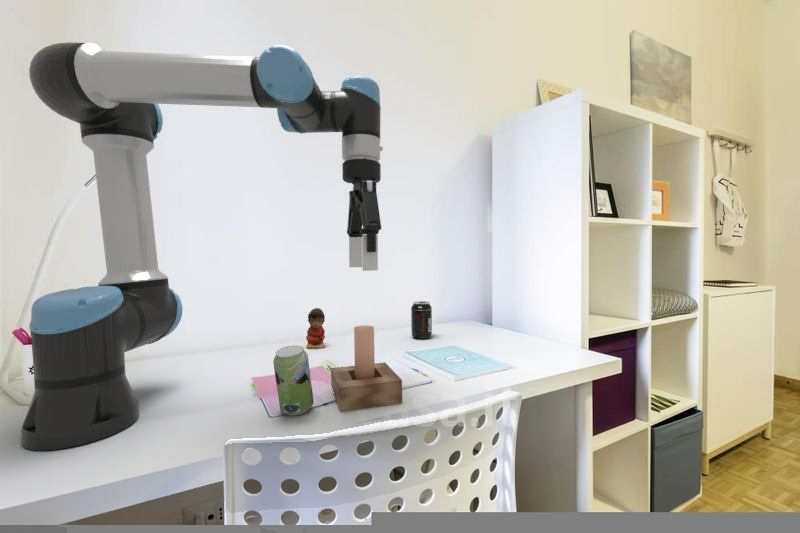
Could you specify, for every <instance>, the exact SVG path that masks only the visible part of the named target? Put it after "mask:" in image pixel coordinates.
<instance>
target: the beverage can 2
mask: <svg viewBox="0 0 800 533" xmlns="http://www.w3.org/2000/svg"><path fill="white" fill-rule="evenodd" d="M412 303H413V304H412V305H411V308H410V311H411V313H410V314H411V318H410V319H411V320H410V321H411V322H410V324H411V328H410V330H411V337H413V338H414V339H416V340H428V339H429V338H431V337H432V335H433V333H432V332H433V324H432V322H433V319H432V318H433V317H432V315H433V314H432V313H433V310H432V305H431V301H427V300H424V301H423V300H416V301H413V302H412Z"/></svg>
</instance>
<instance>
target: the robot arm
mask: <svg viewBox="0 0 800 533" xmlns="http://www.w3.org/2000/svg"><path fill="white" fill-rule="evenodd" d="M28 71H29V72H28V74H29V80H30V83H31V86H32V88H33V90H34V92H35V94H36V95H37V97H38V98H39V100H41V102H42V103H44V105H45V106H46V107H47V108H49V109H50V110H52V111H53V113H54V112H55V113H56V114H58V115H59V116H62V117H63V118H66V119H69V120H71V121H73V122H75V123H77V124H79V128H80V138H81V143H82V144H83V145H84V146H86V147H87V148H88V149H90V150H91V151H92V152H93V153H92V154H93V163H94V171H95V178H96V179H95V182H96V188H97V198H98V206H99V214H100V222H101V223H100V225H101V231H102V241H103V248H104V258H105V268H106V274H105V275H104V276H103V277H102V278H101V279H100V281H99V282H98V283H97V285H95V286H85V287H78V288H70V289H63V290H59V291H55V292H51V293H47V294H44V295H43V296H40V297H39V298H37V299H36V300H35V301H34V302H33V304H32V305H31V312H30V314H31V317H30V321H29V329H30V336H31V337H30V338H31V339H30V340H31V351H32V352H31V354H32V366H33V367H32V368H33V377H34V378H33V382H34V383H33V384H34V394H33V396H32V398H31V402H30V404H29V407H28V410H27V412H26V415H25V418H24V420H23V424H22V426H21V430H20V433H21V434H20V435H21V445H22V447H23V448H25V449H28V450H32V451H49V450H50V451H51V450H62V449H66V448H71V447H77V446H81V445H85V444H89V443H92V442H95V441H100V440H102V439H104V438H108V437H110V436H113V435H114V434H115V435H116V434H117V433H119V432H122V431H123V430H126V429H127V428H129V427H130V426H131V425H133V424H134V423H135V422H136V421H137V420H138V419H139V417H140V405H139V400H138V398H137V397H136V395H135V392H134V391H133V388H132V386H131V385H130V382H129V380H128V378H127V374H126V365H125V364H126V360H125V358H126V356H125V353H126V352H129V351H132V350H134V349H138V348H141V347H143V346H146V345H150V344H151V345H152V344H154V343H156V342H159V341H161V340H162V339H163V338H166V337H167V336H169V335H170V334H172V333H173V332H174V331H175V330H176V328H178V326H179V325H180V322H181V321H182V317H183V303H182V300H181V298H180V296H179V294H178V293H175V290H174V289H172V288H170V285H169V277H168V275H166V274H165V273H164V272H162V271H161V270H160V269H159V263H158V255H157V252H158V251H157V244H156V236H155V227H154V226H155V225H154V216H153V208H152V206H153V204H152V198H151V197H152V196H151V189H150V187H151V186H150V179H149V178H150V177H149V169H148V168H149V167H148V159H147V155H148V154H149V153H150V152H151V151H152V150H153V149H155V148H154V147H155V144H154V143H155V142H154V141H155V140H156V139H157V138H158V134H160V133H161V131H162V129H163V123H164V121H163V120H164V119H163V114H162V110H161V108H160V106H159V105H186V106H188V105H189V106H211V107H212V106H213V107H214V106H215V107H217V106H218V107H238V108H239V107H241V108H242V107H244V108H264V109H276V110H277V118H278V121H279V124H280V126H281V128H282V129H283V131H286V132H288V133H297V134H298V133H299V134H310V133H311V134H312V133H341V134H342V135H341V158H342V160H343V163H342V164H341V165H342V166H341V168H342V180H343V182H345V183H347V184H352V186H353V187H352V190H349V192H348V195H349V202H348V203H349V204H348V215H347V228H346V234H347V235H348V249H349V250H348V251H349V252H348V259H349V260H348V266H349V267H348V268H362V271H364V272H367V271H368V272H369V271H378V270H379V267H378V266H379V263H378V262H379V261H378V260H379V259H378V258H379V254H378V252H379V251H378V250H379V249H378V248H379V244H378V243H379V241H378V234H379V233H380V232H379V231H381V230H382V222H381V216H380V209H379V202H378V193H377V183H379V182H381V177H382V176H381V174H382V173H381V167H382V166H381V163H380V160H381V152H382V151H383V150H384V147H383V146H382V145H381V107H382V106H381V95H380V94H381V93H380V87H379V84H378V83H377V82H376V80H374V79H372V78H370V77H367V76H362V75H353V76H352V77H346V78H345V79H343V81H342V83H341V88H340V90H333V91H331V90H330V91H329V90H328V91H327V90H322V91H321V89H320V87H319V85H318V83H317V82H316V80H315V78H314V75H313V72H312V70H311V67H310V66H309V65H308V63H307V61H305V60H304V58H303V57H302V55H301V54H300V53H299V52H298V51H297V50H296V49H294V48H293V47H291V46H287V45H283V44H276V45H273V46H271V47H269V48H267V49H265V50H264V51H263V52H261V54H260V55H259V56H241V55H215V54H213V55H212V54H192V53H189V54H187V53H163V52H141V51H139V52H137V51H117V50H116V51H114V50H113V51H112V50H106V49H105V48H104V47H102V46H101V45H100V44H96V43H94V42H93V43H92V42H73V41H71V42H59V43H57V42H56V43H54V44H51V45H48V46H45V47H43V48H42V49H40V50H38V52H36V54H34V56H33V57H32V59H31V62H30V64H29V70H28Z"/></svg>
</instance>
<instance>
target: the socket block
mask: <svg viewBox="0 0 800 533" xmlns="http://www.w3.org/2000/svg"><path fill="white" fill-rule="evenodd" d="M374 364H375V378H369V379H360V380H355V365H348V366H341V367H338V366H337V367H331V368H330V381H331V382H330V383H331V387H332V389H333V392H334V394H333V396H334V395H335V397H334V399H335V398H336V400H335V403H336V405H337V407H338V409H339V412H347V411H356V410H362V409H368V408H375V407H383V406H391V405H397V404H403V379H402V378H401V377H400V376H399V375H398V374H397V373H396V372H395V371H394V370H393V369H392V368H391V367H390V366H389V365H388V364H387V363H386V362H377V363H375V362H374ZM332 389H331V390H332ZM333 392H332V393H333Z"/></svg>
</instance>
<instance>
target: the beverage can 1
mask: <svg viewBox="0 0 800 533" xmlns="http://www.w3.org/2000/svg"><path fill="white" fill-rule="evenodd" d="M272 361H273V362H272V363H273V369H274V376H275V382H276V389H277V396H278V403H279V404H278V405H279V409H280V412H282V413H283V414H285V415H288V416H298V415H302V414H304V413H306V412H307V411H308V410H309V409H311V407H312V406H313V405H314V396H313V395H314V393H313V386H312V379H311V378H312V377H311V371H310V361H309V356H308V353H307V352H306V350H305V348H304V347H303V346H301V345H288V346H285V347H281V348H279V349H278V350H277V351H275V355H274V357H273V360H272Z"/></svg>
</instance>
